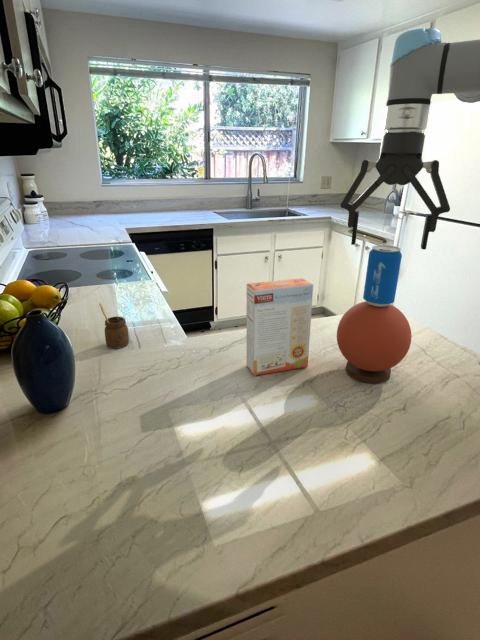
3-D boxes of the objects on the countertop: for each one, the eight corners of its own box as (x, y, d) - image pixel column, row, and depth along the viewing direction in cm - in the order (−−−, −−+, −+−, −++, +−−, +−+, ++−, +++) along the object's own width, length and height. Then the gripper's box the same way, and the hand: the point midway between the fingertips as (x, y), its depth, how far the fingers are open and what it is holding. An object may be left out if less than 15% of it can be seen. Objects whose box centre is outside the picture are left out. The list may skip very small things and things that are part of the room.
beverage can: (358, 303, 87) (365, 248, 82) (368, 295, 92) (375, 243, 87) (388, 310, 83) (398, 253, 79) (397, 301, 88) (406, 247, 84)
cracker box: (297, 356, 101) (303, 276, 93) (308, 368, 96) (315, 284, 88) (244, 364, 97) (245, 281, 89) (253, 376, 92) (255, 290, 84)
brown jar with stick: (129, 347, 105) (124, 304, 101) (104, 350, 104) (98, 306, 99) (129, 338, 111) (125, 297, 106) (105, 340, 109) (100, 299, 105)
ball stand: (402, 362, 99) (414, 295, 92) (405, 396, 85) (420, 320, 78) (336, 352, 104) (343, 288, 97) (329, 383, 90) (337, 310, 83)
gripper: (333, 131, 75) (324, 245, 83) (483, 129, 68) (457, 254, 76) (337, 133, 81) (328, 238, 90) (474, 132, 74) (451, 246, 82)
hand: (387, 245), depth 83 cm, fingers open, 13 cm apart
